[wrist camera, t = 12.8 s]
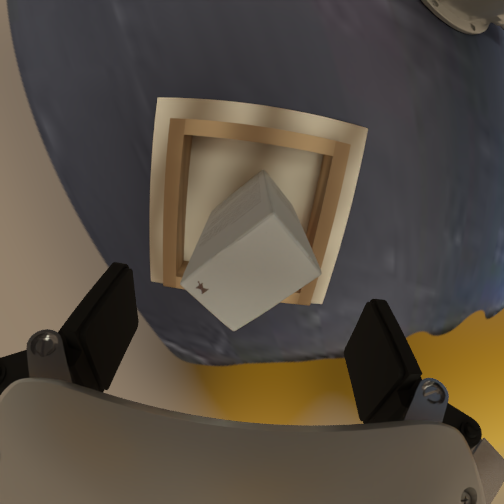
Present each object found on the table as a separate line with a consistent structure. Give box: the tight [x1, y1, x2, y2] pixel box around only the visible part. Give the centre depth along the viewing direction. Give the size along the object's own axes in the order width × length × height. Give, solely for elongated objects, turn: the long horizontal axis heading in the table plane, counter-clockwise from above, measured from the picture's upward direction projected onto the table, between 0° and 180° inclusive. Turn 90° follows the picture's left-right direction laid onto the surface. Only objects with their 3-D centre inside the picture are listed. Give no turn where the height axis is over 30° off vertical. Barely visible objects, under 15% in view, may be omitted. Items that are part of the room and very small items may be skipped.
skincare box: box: [180, 170, 322, 331], centre depth 19 cm, size 6×4×12 cm
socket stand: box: [150, 98, 368, 305], centre depth 24 cm, size 18×18×4 cm
